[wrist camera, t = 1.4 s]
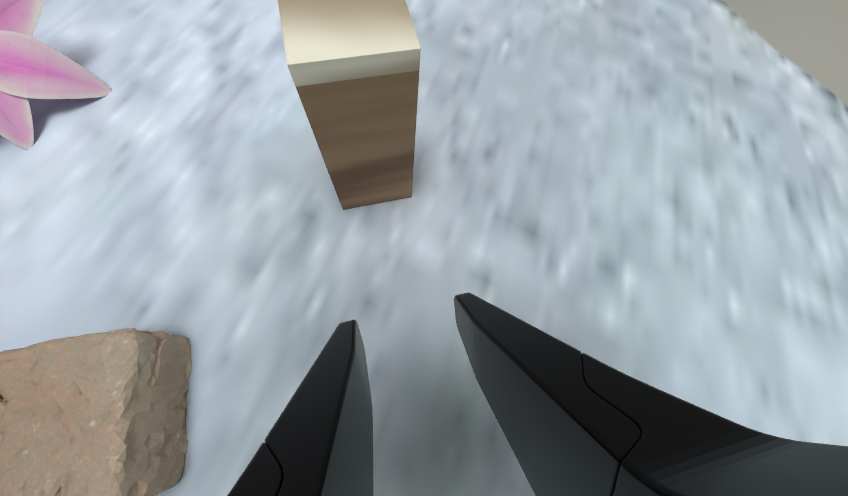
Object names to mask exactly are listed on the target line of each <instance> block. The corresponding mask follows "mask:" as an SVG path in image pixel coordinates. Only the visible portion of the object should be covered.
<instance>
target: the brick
mask: <svg viewBox="0 0 848 496" xmlns="http://www.w3.org/2000/svg"><path fill="white" fill-rule="evenodd" d="M191 367H192V361H191V345H190V343H189V341H188V339H187V338H186V337H181V336H174V335H173V336H171V335H169V334H167V333H166V332H163V331H159V332H149V331H138V330H136V329H135V328H131V329H120V330H114V331H110V332H106V333H95V334H86V335H82V336H77V337H67V338H61V339H54V340H49V341H45V342H41V343H37V344H34V345H31V346H28V347H25V348H20V349H13V350H7V351H2V352H0V496H153V495H156V494H158V493H160V492H163V491H165V490H167V489H169V488H171V487H173V486H175V485H176V483H177V482H178V481H179V480H180V478H181V475H182V472H183V468H184V464H185V453H186V452H187V448H188V441H187V437H186V433H187V432H186V430H185V426H186V421H185V415H186V406H187V402H186V393H187V391H188V386H189V385H188V380H189V377H190V373H191Z"/></svg>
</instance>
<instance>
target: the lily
mask: <svg viewBox="0 0 848 496" xmlns="http://www.w3.org/2000/svg"><path fill="white" fill-rule="evenodd" d="M42 4H43V0H0V135H1V136H3V137H4V138H6V139H7V140H9V141H11V142H12V143H14V144H16V145H18V146H20V147H22V148H24V149H29V148H30V147H32V146H33V142H34V133H33V122H32V114H31V109H30V105H29V101H28V99H27V98H35V99H82V98H98V97H103V96H107V95H108V94H109V93H110V92H111V90H110V88H109V86H108V85H106V84H105V83H104V82H103V81H102V80H101V79H99V78H98V77H97V76H95V75H94V74H92V73H91V72H89V71H88V70H87V69H85V68H84V67H82V66H81V65H79V64H78V63H76V62H74V61H73V60H71V59H70V58H68V57H67V56H65V55H64V54H62V53H60V52H59V51H57V50H55V49H54V48H52V47H51V46H49V45H47V44H45V43H43V42H41V41H39V40H37V39H35V38H33V37H32V36H33V34H34V31H35V29H36V27H37V24H38V21H39V17H40V14H41V9H42Z"/></svg>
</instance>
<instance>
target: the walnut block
mask: <svg viewBox="0 0 848 496" xmlns="http://www.w3.org/2000/svg"><path fill="white" fill-rule="evenodd" d="M278 5H279V12H280V18H281V25H282V32H283V39H284V45H285V52H286V59H287V65H288V68H289V70H290V73H291V76H292V78H293V81H294V83H295V86H296V89H297V91H298V94H299V96H300V99H301V102H302V104H303V107H304V109H305V112H306V115H307V117H308V120H309V122H310V125H311V128H312V130H313V133H314V135H315V138H316V141H317V143H318V146H319V148H320V151H321V154H322V156H323V159H324V162H325V164H326V167H327V169H328V172H329V175H330V177H331V180H332V182H333V185H334V188H335V190H336V193H337V195H338V198H339V201H340V203H341V206H342V208H343V210H345V209H350V208H355V207H361V206H366V205H371V204H377V203H382V202H387V201H392V200H398V199H403V198H408V197H411V194H412V178H413V162H414V146H415V130H416V114H417V98H418V82H419V66H420V50H421V48H420V45H419V42H418V39H417V36H416V33H415V30H414V26H413V23H412V20H411V17H410V14H409V11H408V8H407V5H406V2H405V0H278Z"/></svg>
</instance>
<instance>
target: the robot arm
mask: <svg viewBox="0 0 848 496" xmlns="http://www.w3.org/2000/svg"><path fill="white" fill-rule="evenodd" d="M454 306H455V316H456V323H457V327H458V330H459V333H460V336H461V338H462V341H463V344H464V347H465V349H466V352H467V355H468V357H469V360H470V363H471V366H472V368H473V371H474V374H475V376H476V379H477V381H478V383H479V385H480V387H481V389H482V391H483V393H484V395H485V397H486V399H487V401H488V403H489V405H490V407H491V409H492V411H493V413H494V415H495V417H496V419H497V420H498V422H499V424H500V426H501V428H502V430H503V432H504V434H505V436H506V438H507V440H508V442H509V444H510V446H511V448H512V450H513V452H514V454H515V456H516V458H517V460H518V462H519V464H520V466H521V468H522V470H523V471H524V473H525V475H526V477H527V479H528V481H529V483H530V485H531V487H532V489H533V491H534V493H535V495H536V496H848V446H839V445H829V444H819V443H810V442H802V441H795V440H790V439H784V438H779V437H776V436H772V435H768V434H764V433H761V432H758V431H755V430H753V429H750V428H747V427H744V426H742V425H739V424H737V423H734V422H732V421H730V420H728V419H725V418H723V417H721V416H718V415H716V414H714V413H711V412H709V411H707V410H705V409H702V408H700V407H698V406H695V405H693V404H691V403H689V402H686V401H684V400H682V399H679V398H677V397H675V396H673V395H670V394H668V393H666V392H663V391H661V390H659V389H657V388H654V387H652V386H650V385H648V384H646V383H643V382H641V381H639V380H637V379H635V378H632V377H630V376H628V375H626V374H624V373H622V372H620V371H618V370H616V369H614V368H612V367H610V366H608V365H606V364H604V363H602V362H600V361H598V360H596V359H594V358H592V357H590V356H589V355H587V354H585V353H582V354H581V352H580V351H579V350H577V349H575V348H573V347H571V346H569V345H568V344H566V343H564V342H562V341H560V340H558V339H556V338H554V337H552V336H551V335H549V334H547V333H545V332H543V331H541V330H539V329H537V328H535V327H534V326H532V325H530V324H528V323H526V322H524V321H522V320H520V319H518V318H517V317H515V316H513V315H511V314H509V313H507V312H505V311H503V310H501V309H500V308H498V307H496V306H494V305H492V304H490V303H488V302H486V301H484V300H483V299H481V298H479V297H477V296H475V295H473V294H471V293H464V294H460V295H456V296H455V297H454ZM265 442H266V443H262V445H261V446H260V448H259V449H258V451H257V452H256V454H255V456H254V457H253V459H252V460H251V462H250V463H249V465H248V466H247V468H246V469H245V471H244V472H243V474H242V475H241V477H240V478H239V480H238V481H237V482H236V484H235V485H234V487H233V488H232V490H231V491H230V493H229V494H228V495H227V496H373V417H372V402H371V393H370V386H369V379H368V371H367V364H366V356H365V350H364V345H363V341H362V338H361V334H360V330H359V327H358V323H357V321H356V320H351V321H346V322H342V323H340V324H339V325H338V327H337V328H336V330H335V331H334V333H333V334H332V336H331V338H330V339H329V341H328V342H327V344H326V345H325V347H324V348H323V350H322V352H321V353H320V355H319V356H318V358H317V359H316V361H315V362H314V364H313V366H312V367H311V369H310V370H309V372H308V373H307V375H306V376H305V378H304V380H303V381H302V383H301V384H300V386H299V387H298V389H297V390H296V392H295V394H294V395H293V397H292V398H291V400H290V401H289V403H288V404H287V406H286V408H285V409H284V411H283V412H282V414H281V415H280V417H279V418H278V420H277V422H276V423H275V425H274V426H273V428H272V429H271V431H270V432H269V434H268V436H267V437H266V439H265Z"/></svg>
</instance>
